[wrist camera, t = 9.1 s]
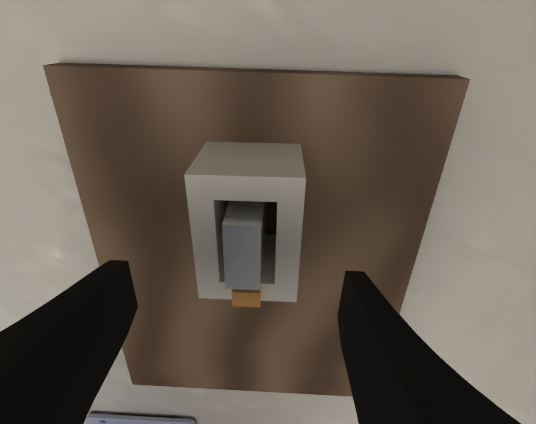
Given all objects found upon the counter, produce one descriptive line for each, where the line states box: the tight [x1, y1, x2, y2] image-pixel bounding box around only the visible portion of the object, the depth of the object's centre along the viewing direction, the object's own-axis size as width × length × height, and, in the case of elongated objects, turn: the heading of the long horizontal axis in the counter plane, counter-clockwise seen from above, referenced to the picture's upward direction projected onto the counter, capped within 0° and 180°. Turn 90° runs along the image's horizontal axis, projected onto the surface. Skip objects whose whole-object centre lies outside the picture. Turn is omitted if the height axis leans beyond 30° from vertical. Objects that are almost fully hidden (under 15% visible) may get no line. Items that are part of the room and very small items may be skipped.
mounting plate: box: [43, 63, 470, 396], centre depth 20 cm, size 18×22×1 cm
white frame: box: [184, 141, 306, 307], centre depth 15 cm, size 6×4×4 cm
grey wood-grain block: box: [222, 201, 267, 290], centre depth 15 cm, size 1×3×5 cm, turn 179°
